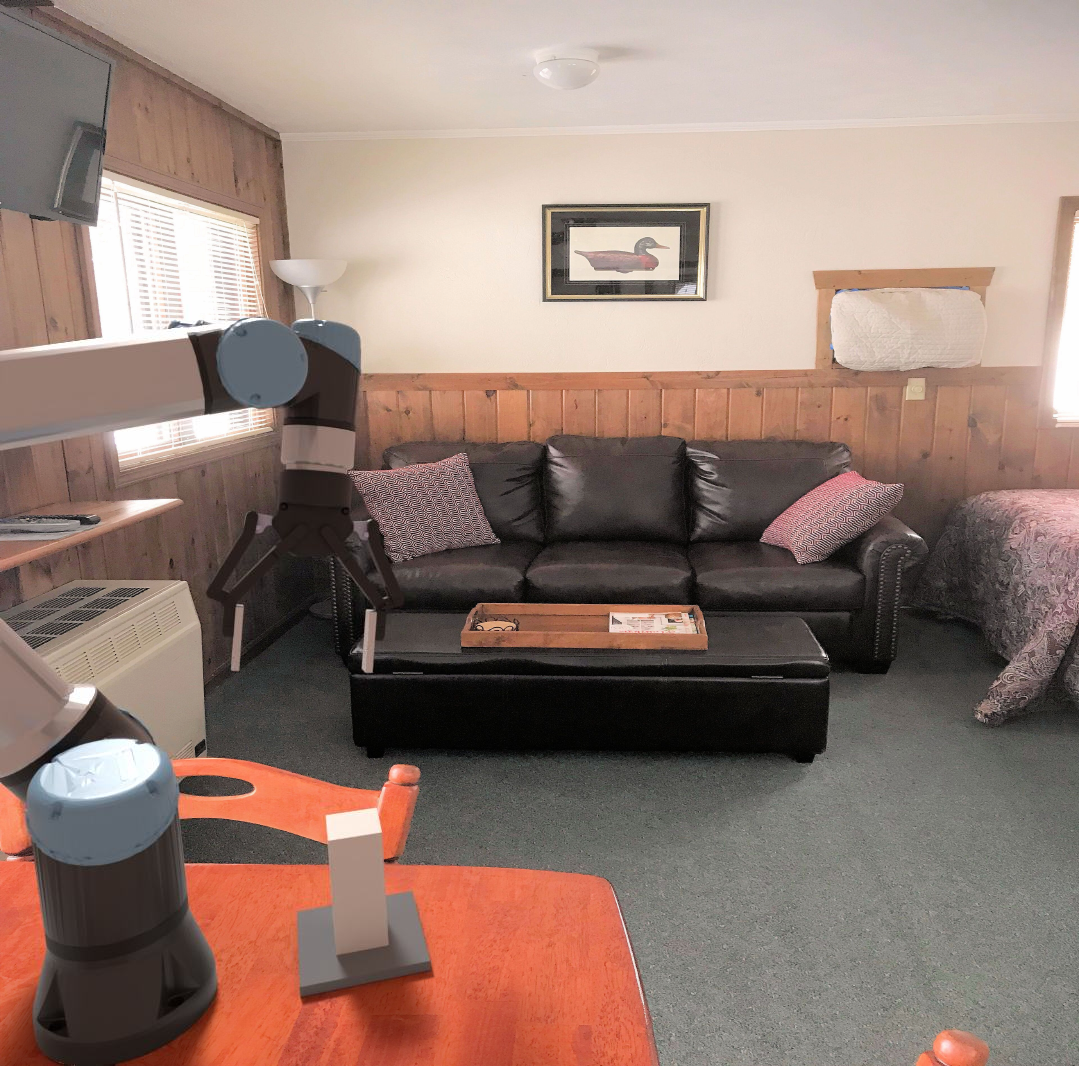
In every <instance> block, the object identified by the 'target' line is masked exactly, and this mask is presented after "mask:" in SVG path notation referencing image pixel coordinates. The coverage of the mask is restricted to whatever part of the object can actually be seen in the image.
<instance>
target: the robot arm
mask: <svg viewBox="0 0 1079 1066" xmlns="http://www.w3.org/2000/svg"><path fill="white" fill-rule="evenodd" d="M361 343H362V341H361V336H360V334H359V333H358V331H357V330H356V329H355V328H353V327H352V326H350V325H348V324H345V323H342V322H338V321H335V320H334V321H333V320H329V319H328V320H327V319H324V320H323V319H322V320H321V319H317V318H303V319H298V320H296V321H293V322H292V324H291V325H290V327H289V326H288V325H285V324H284V323H282V322H281V321H278V320H275V319H272V318H265V317H263V316H251V317H244V318H240V319H238V320H233V321H228V322H227V321H226V322H217V323H212V322H207V321H205V320H202V319H199V320H191V319H182V318H177V319H174V320H172V321H171V322H170V323H169V324H168V326H167V329H163V330H162V329H161V330H155V331H147V332H140V333H132V334H131V333H130V334H124V335H116V336H114V335H113V336H109V337H107V336H106V337H100V338H91V339H84V340H83V339H82V340H77V341H69V342H60V343H53V344H45V345H44V344H43V345H37V346H28V347H19V348H13V349H3V350H0V451H6V450H11V449H18V448H22V447H29V446H33V445H35V446H36V445H39V444H40V445H41V444H45V443H46V444H47V443H51V442H57V441H64V440H69V439H74V438H81V437H86V436H87V437H88V436H92V435H97V434H104V433H109V432H115V431H116V432H117V431H122V430H127V429H132V428H138V427H144V426H150V425H155V424H161V423H167V422H172V421H178V420H183V419H189V418H194V417H201V416H206V415H210V416H211V415H216V414H223V413H227V412H234V411H241V410H245V409H250V408H251V409H252V408H253V409H256V410H264V409H265V410H267V409H281V410H283V422H282V423H283V424H282V436H281V437H282V438H281V453H280V462H281V463H282V465H286V466H285V467H286V468H285V469H284V468H283V469H282V470H281V472H279V476H278V477H279V479H278V480H279V481H278V492H277V495H278V496H277V507H276V511H275V512H274V514H273V515H269V514H262V513H258V512H256V511H254V510H249V511H248V512H247V513H246V514H245V518H244V523H243V528H242V532H241V533H240V534H239V536H238V538H237V539H236V542H235V543H234V545H233V547H232V548H231V550H230V551H229V553H228V554H227V556H226V557H225V559H224V561H223V563H222V564H221V565H220V567H219V569H218V571H217V572H216V573H215V576H214V577H213V578H212V580H211V582H210V584H209V585H208V587H207V588H206V592H205V595H206V598H209V599H211V600H214V601H216V602H219V603H220V604H222V606H223V607H222V608H223V612H222V627H221V633H222V636H223V637H224V638H225V637H227V638H229V637H230V638H232V650H231V651H232V652H231V667H230V669H231V672H232V671H233V672H239V671H240V665H241V664H240V662H241V649H242V635H243V624H244V623H243V619H244V609H245V607H244V604H238V602H239V601H240V600H241V599H242V598H243V597H244V596H245V595H246V594H247V593H248V592H249V591H250V590H251V589H252V588H253V587H254V586H255V585H256V584H257V583H258V582H259V581H260V580H261V579H262V578H263V577H264V576H265V575H266V574H267V573H268V572H269V571H270V570H271V569H272V568H273V567H274V566H275V565H276V564H277V563H278V562H279V561H280V560H281V559H283V558H284V556H285V555H286V554H288V553H289V554H290V555H291V556H294V557H296V558H307V557H313V558H318V559H328V558H330V557H332V556H335V558H336V559H337V561H338V562H339V563H340V565H342V567H343V568H344V569H345V571H346V572H347V573H348V575H349V576H350V578H351V579H352V580H353V581H354V583H355V584H356V586H357V587H358V588H359V589H360V591H361V592H362V593H363V595H364V596H365V597H366V599H367V600H368V601H369V603H370V604H371V606H372V607H373V609H366V610H365V621H364V630H363V631H364V634H363V645H362V646H363V649H362V660H361V661H362V662H361V670H362V671H363V672H364V673H366V674H369V673H370V674H371V673H372V674H373V673H374V672H373V670H374V669H373V668H374V656H375V646H376V644H375V643H376V642H382V641H384V639H385V638H386V626H387V625H386V623H387V613H388V612H389V611H390V610H391V609H394V608H397V607H403V605H404V604H405V600H406V599H405V597H404V594H403V592H402V590H401V587H400V585H399V583H398V581H397V578H396V575H395V573H394V571H393V568H392V566H391V564H390V561H389V559H388V556H387V554H386V552H385V549H384V547H383V544H382V542H381V537H380V536H381V533H380V532H381V531H380V523H379V521H378V520H376V519H367V520H364V521H363V520H361V521H353V519H352V516H351V505H352V489H353V477H351V475H350V474H349V473H348V471H350V470H352V469H353V468H354V465H355V449H356V448H355V447H356V425H357V424H356V423H357V422H356V421H357V414H358V403H359V390H360V383H361V381H360V380H361V376H362V368H361V367H362V347H361V345H362V344H361ZM268 526H271V528H272V530H273V531H274V532H275V534H276V535H277V537H278V538H279V541H277V542H276V543H275V545H273V547H271V549H269V551H267V553H266V554H264V556H263V557H262V558H261V559H260V560H259V561H258V562H257V563H256V564H255V565H254V566H253V567H252V568H251V569H250V570H249V571H248V572H246V574H245V575H244V576H243V577H242V578H241V579H240V580H239V581H238V582H237V583H235V584H234V586H233V587H232V588H231V589H230V590H226V589H224V586H225V585H226V583H227V582H228V581H229V579H230V577H231V576H232V573H233V572H234V571H235V568H236V567H237V566H238V564H239V562H240V561H241V559H242V557H243V556H244V555H245V552H246V551H247V549H249V546H250V544H251V543H252V541H253V540H254V537H255V534H262V533H263V532H264V530H265V529H266V527H268ZM353 532H356V533H357V535H358V537H359V539H361V540H362V541H365V543H366V547H367V550H368V551H369V554H370V556H371V559H372V561H373V563H374V565H375V568H376V571H377V573H378V576H379V577H380V580H381V583H382V585H383V588H384V589H385V592H386V594H387V595H386V596H385V597H383V596H382V594H381V593H380V592H379V590H378V589H377V588H376V586H375V585H374V584H373V583H372V581H371V580H370V579H369V577H368V576H367V575H366V573H365V572H364V571H363V569H362V568H361V567H360V566H359V564H358V562H357V561H356V560H355V558H354V557H353V556H352V554H351V553H350V552H349V550H348V549H347V547H346V545H344V544H345V542H346V541H347V540H348V538H349V537H350V536H351V535H352V534H353ZM174 771H175V770H174V767H173V763H172V761H171V758H169V756H168V755H167V753H166V752H165V751H163V750H162V749H161V748H160V747H158V746H157V743H156V741H155V740H154V737H153V735H152V733H151V731H150V730H149V728H148V727H147V726H146V725H145V724H144V723H143V721H141V720H140V718H138V717H137V716H135V715H134V714H133V713H131V712H129V711H128V710H126V709H124V708H122V707H120V706H116V705H115V704H114V703H113V702H111V701H110V699H108V697H107V696H105V694H103V693H102V692H101V691H100V690H99V689H98V688H97V687H96V686H95V685H93V683H70V682H69V683H68V682H67V681H66V680H65V679H64V678H63V677H62V676H61V675H60V674H59V673H58V672H57V671H56V670H55V669H54V668H53V667H52V666H50V665H49V663H48V662H47V661H45V660H44V658H42V656H41V655H39V654H38V653H37V651H35V650H34V649H33V648H32V647H31V646H30V645H29V644H28V643H27V642H26V641H25V640H24V639H23V637H21V636H20V635H19V634H17V632H16V631H15V630H14V629H12V627H11V626H9V624H7V623H6V621H4V620H3V618H1V617H0V784H1V785H2V786H4V787H5V788H6V789H7V790H8V791H9V792H11V793H12V794H13V796H15V797H16V798H17V799H19V800H20V801H21V802H22V803H23V804H24V805H25V811H24V815H25V816H24V817H25V818H24V819H25V824H26V830H27V832H28V834H29V835H30V840H31V849H32V854H33V855H32V856H33V862H34V863H33V864H34V868H35V875H36V883H37V890H38V897H39V902H40V903H39V905H40V911H41V917H42V925H43V932H44V937H45V938H44V940H45V944H46V945H45V947H46V949H45V955H44V958H43V963H42V968H41V969H40V970H41V971H40V976H39V979H38V984H37V987H36V993H35V997H34V1001H33V1005H32V1014H31V1015H32V1024H33V1032H34V1038H35V1042H36V1044H37V1048H38V1049H39V1050H40V1052H41V1054H43V1053H44V1054H43V1055H44V1056H45V1057H47V1058H48V1057H49V1058H48V1059H50V1060H51V1059H52V1061H53V1060H55V1061H54V1062H56V1061H57V1062H56V1063H58V1062H61V1063H64V1064H66V1065H65V1066H69V1065H75V1066H110V1065H116V1064H120V1063H125V1062H128V1061H130V1060H134V1059H137V1058H140V1057H143V1056H145V1055H147V1054H149V1053H152V1052H154V1051H156V1050H159V1049H160V1048H162V1047H164V1046H166V1045H168V1044H169V1043H171V1042H173V1041H174V1040H175V1039H177V1038H179V1037H180V1036H181V1035H182V1034H184V1033H185V1032H187V1031H188V1030H189V1029H191V1027H192V1026H193V1025H195V1024H196V1023H197V1022H198V1021H199V1020H200V1019H201V1017H203V1015H204V1014H205V1013H206V1012H207V1010H208V1009H209V1007H210V1006H211V1004H212V1002H213V1000H214V999H215V995H216V993H217V990H218V988H217V987H218V977H217V975H218V974H217V967H216V966H217V965H216V958H215V955H214V953H213V949H212V948H211V946H210V944H209V941H207V938H206V937H205V935H204V933H203V931H202V929H201V927H200V926H199V923H198V922H197V920H196V918H195V916H194V914H193V913H192V912H193V911H192V910H191V909H190V904H189V895H188V887H187V886H188V885H187V875H186V866H185V858H184V849H183V848H184V847H183V839H182V830H181V829H182V828H181V822H180V821H181V820H180V811H179V801H180V800H179V799H180V789H179V788H180V786H179V782H178V778H177V776H176V774H175V772H174ZM61 1063H60V1064H61ZM64 1064H63V1065H64ZM67 1064H68V1065H67Z"/></svg>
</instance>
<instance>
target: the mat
mask: <svg viewBox="0 0 1079 1066" xmlns="http://www.w3.org/2000/svg"><path fill="white" fill-rule="evenodd" d="M386 909H387V925H388V942H389V945H387V946H382V947H377V948H372V949H366V950H361V951H356V952H351V953H346V954H340V955H336V946H335V935H334V923H333V909H332V904H331V905H325V906H320V907H314V908H313V907H312V908H309V909H304V910H298V911H296V921H297V948H298V949H297V951H298V953H297V954H298V975H299V977H298V978H299V995H300V998H302V997H307V996H312V995H317V994H321V993H327V992H331V991H335V990H340V989H345V988H350V987H355V986H361V985H365V984H370V983H374V982H380V981H385V980H389V979H394V978H400V977H404V976H409V975H414V974H419V973H424V972H427V971H429V972H430V971H431V967H432V966H431V958H430V954H429V950H428V946H427V943H426V938H425V935H424V930H423V927H422V924H421V923H422V922H421V919H420V916H419V911H418V908H417V903H416V900H415V896H414V892H413V890H409V891H404V892H403V891H402V892H397V893H392V894H386Z"/></svg>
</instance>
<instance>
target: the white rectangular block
mask: <svg viewBox="0 0 1079 1066" xmlns="http://www.w3.org/2000/svg"><path fill="white" fill-rule="evenodd" d="M379 817H380V816H379V812H378V808H377V807H372V808H365V809H359V810H352V811H345V812H340V813H333V814H325V823H326V825H325V826H326V836H327V837H326V838H327V851H328V852H327V853H328V865H329V868H328V869H329V878H330V879H329V880H330V881H329V882H330V891H331V892H330V893H331V894H330V896H331V905H332V909H333V923H334V935H335V946H336V955H340V954H346V953H351V952H356V951H361V950H366V949H372V948H377V947H382V946H387V945H389V942H388V925H387V909H386V895H387V892H386V880H385V877H386V876H385V861H384V844H383V831H382V828H381V827H382V826H381V821H380V818H379Z"/></svg>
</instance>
